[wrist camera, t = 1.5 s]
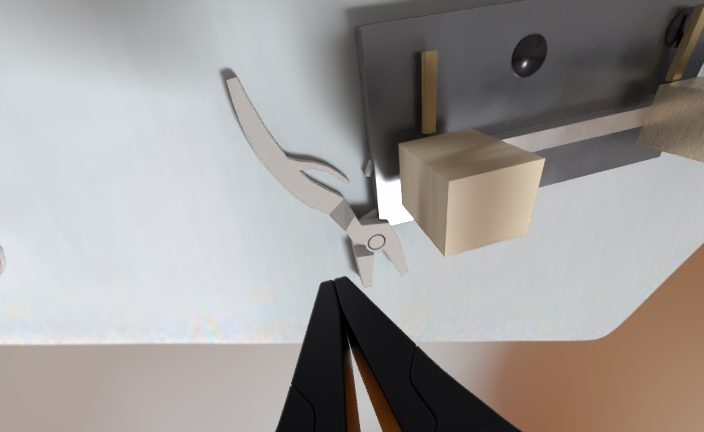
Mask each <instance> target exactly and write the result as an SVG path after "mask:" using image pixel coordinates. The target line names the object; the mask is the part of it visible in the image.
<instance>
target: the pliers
mask: <svg viewBox="0 0 704 432" xmlns="http://www.w3.org/2000/svg"><path fill="white" fill-rule="evenodd" d="M226 81H227V85H228V88H229V91H230V95H231V98H232V102H233V105H234V108H235V110H236V113H237V116H238V119H239V122H240V124H241V126H242V128H243V130H244V132H245V134H246V136H247V138H248V140H249V142H250V144H251V146H252V147H253V149H254V150H255V152H256V154H257V155H258V157H259V159H260V160H261V161H262V163H263V164H264V165H265V166H266V168H267V169H268V170H269V172H270V173H271V174H272V175H273V176H274V177H275V178H276V180H277V181H278V182H279V183H280V184H281V185H282V186H283V187H284V188H285V189H286V190H287V191H289V192H290V193H291V194H292V195H293V196H294V197H295V198H297V199H298V200H300V201H301V202H303V203H304V204H306V205H307V206H309V207H311V208H313V209H316V210H318V211H321V212H323V213H326V214H329V215H330V216H331V217H332V218H333V219H334V220H335V221H336V222H337V223H338V224H339V225H340V226H341V227H342V228H343V229H344V230H345V231H346V233H347V234H348V236H349V237H350V238H351V244H352V248H353V252H354V257H355V261H356V265H357V269H358V273H359V277H360V279H361V282H362V284H363V287H364V288H366V287H372V277H373V261H374V253H373V252H377V251H380V250H383V251H385V252H386V254H387V255H388V257H389V258H390V260H391V261H392V263H393V264H394V266H395V267H396V269H397V270H398V272H399V273H400V275H401V276H403V275H405V274H406V273H408V268H407V265H406V261H405V257H404V254H403V250H402V246H401V243H400V239H399V237H398V236H397V234H396V232H395V231H394V229H393V227H392V226H391V224H390V222H389V221H380V220H379V219H378V218H377V211H376V210H375V209H373V210H372V211H370V212H369V213H367V214H366V215H364V216H363V217H361V218H360V219H358V218H357V217H356V215H355V213H354V212H353V210H352V208H351V207H350V206H349V204H348V203H347V201H346V200H345V198H344V197H343V195H341V194H339V193H337V192H335V191H333V190H331V189H329V188H327V187H325V186H323V185H321V184H319V183H318V182H316V181H314V180H312V179H310V178H309V177H308V176H306V175H305V174H304V173H303V172H302V171H301V170H309V169H316V170H320V171H324V172H328V173H330V174H331V175H333V176H335V177H337V178H338V179H340V180H341V181H342V182H344V183H345V184H346V185H347V184H349V183H350V181H349V180H348V179H347V178H346V177H345V176H344V175H342V174H341V173H340V172H339V171H337V170H336V169H334V168H332V167H331V166H329V165H327V164H324V163H321V162H317V161H314V160H304V159H296V158H293V157H290V156H287V155H286V154H285V152H284V151H283V150H282V148H281V147H280V146H279V145H278V143H277V142H276V141H275V139H274V138H273V137H272V135H271V134H270V132H269V131H268V130H267V128H266V126H265V125H264V123H263V121H262V120H261V118H260V116H259V115H258V113H257V111H256V109H255V108H254V106H253V104H252V103H251V101H250V99H249V98H248V96H247V94H246V92H245V90H244V88H243V86H242V84H241V82H240V80H239V78H238V77H234V78H231V79H228V80H226ZM371 173H372V162H371V160H370V159H369V161H368V163H367V166H366V169H365V172H364V174H365V176H366V177H370V176H371Z"/></svg>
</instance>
